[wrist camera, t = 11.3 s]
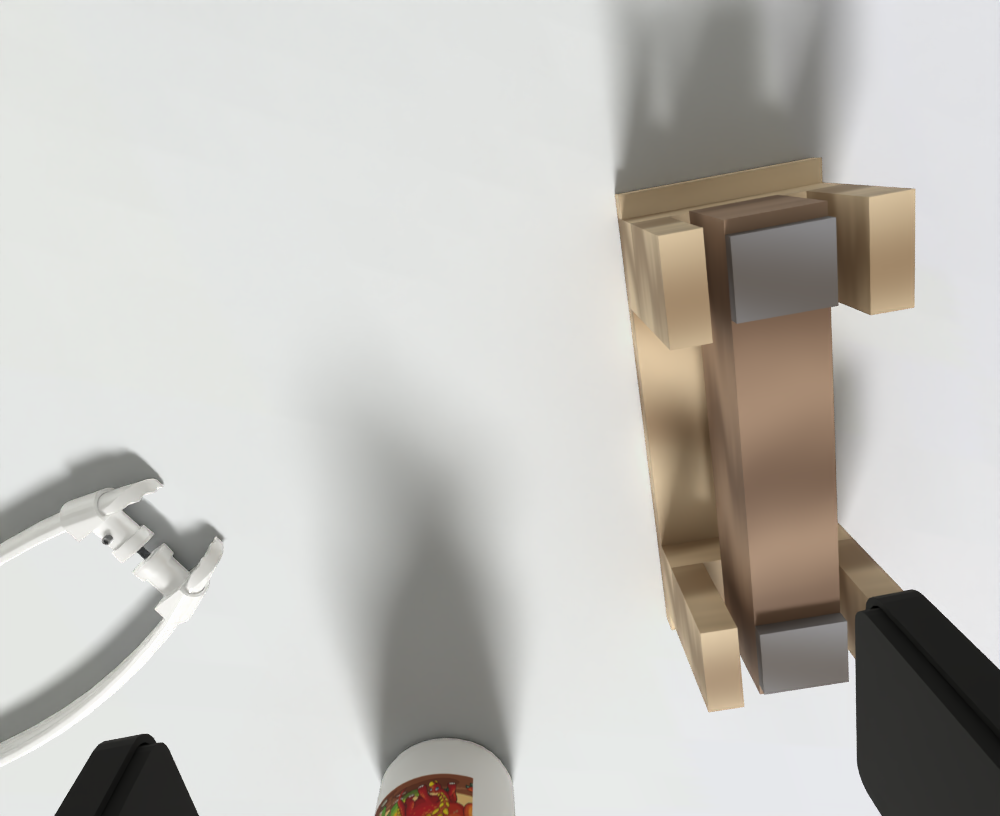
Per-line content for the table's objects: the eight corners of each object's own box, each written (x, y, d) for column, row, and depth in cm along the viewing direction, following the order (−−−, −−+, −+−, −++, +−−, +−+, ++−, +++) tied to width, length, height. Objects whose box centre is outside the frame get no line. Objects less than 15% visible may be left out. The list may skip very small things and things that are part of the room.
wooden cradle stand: (614, 194, 31) (654, 205, 24) (811, 157, 31) (915, 156, 23) (667, 618, 38) (710, 730, 31) (827, 592, 38) (911, 700, 31)
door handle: (-188, 698, 40) (119, 435, 35) (-43, 804, 43) (263, 573, 38) (-235, 735, 37) (90, 457, 33) (-77, 845, 40) (246, 603, 35)
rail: (688, 211, 29) (729, 221, 24) (777, 194, 29) (835, 201, 24) (727, 629, 35) (765, 704, 30) (799, 617, 35) (848, 691, 30)
